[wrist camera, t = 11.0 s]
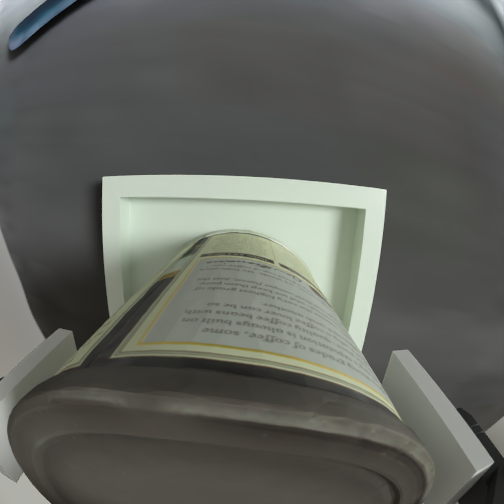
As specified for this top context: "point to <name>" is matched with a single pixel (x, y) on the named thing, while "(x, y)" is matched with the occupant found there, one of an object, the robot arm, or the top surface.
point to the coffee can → (220, 396)
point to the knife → (36, 21)
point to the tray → (246, 218)
